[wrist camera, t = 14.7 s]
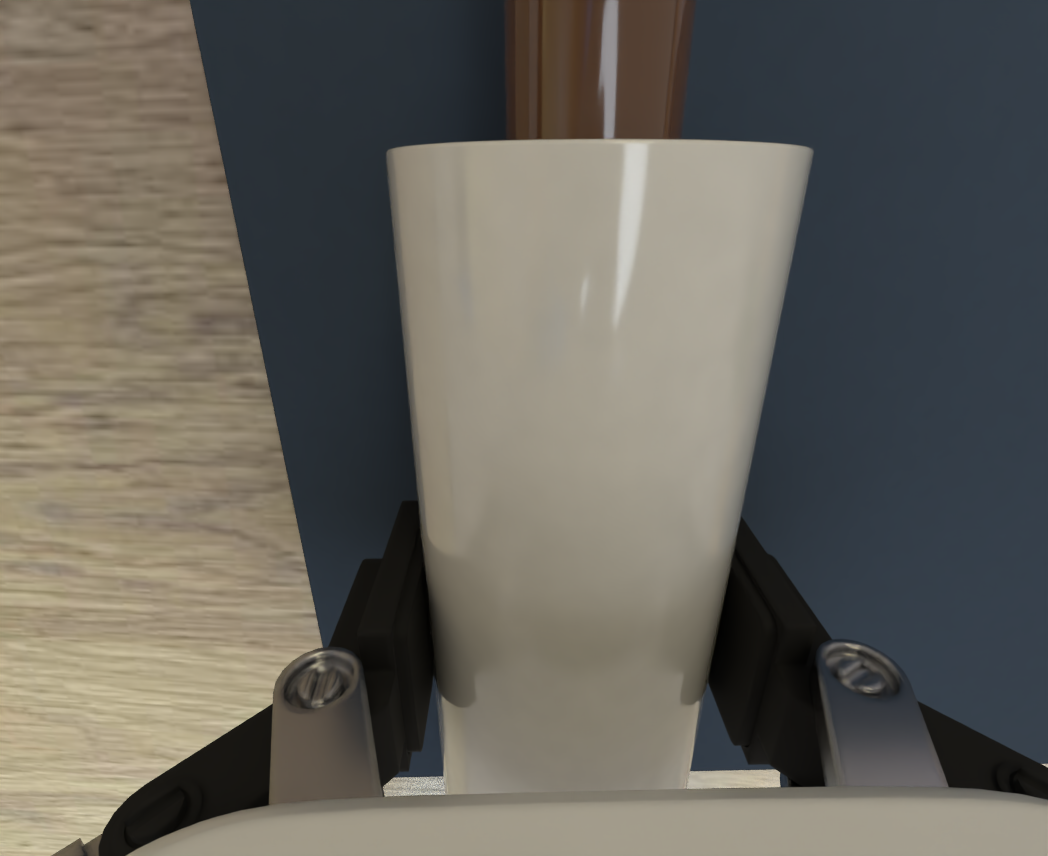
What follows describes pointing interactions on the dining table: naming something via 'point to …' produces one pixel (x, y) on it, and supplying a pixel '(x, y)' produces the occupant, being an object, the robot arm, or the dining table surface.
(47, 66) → the dining table surface
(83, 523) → the dining table surface
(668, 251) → the rolling pin
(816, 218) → the baking mat
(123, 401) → the dining table surface
